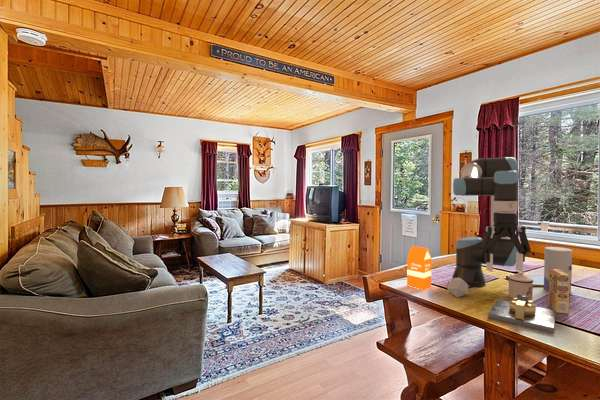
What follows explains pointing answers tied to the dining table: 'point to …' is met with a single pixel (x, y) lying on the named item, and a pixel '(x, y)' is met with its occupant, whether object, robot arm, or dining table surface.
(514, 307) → the beige lumpy block
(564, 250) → the container
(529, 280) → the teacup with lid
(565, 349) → the dining table surface
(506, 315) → the flange plate
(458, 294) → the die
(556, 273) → the candy box
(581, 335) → the dining table surface
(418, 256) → the orange juice
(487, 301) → the dining table surface
